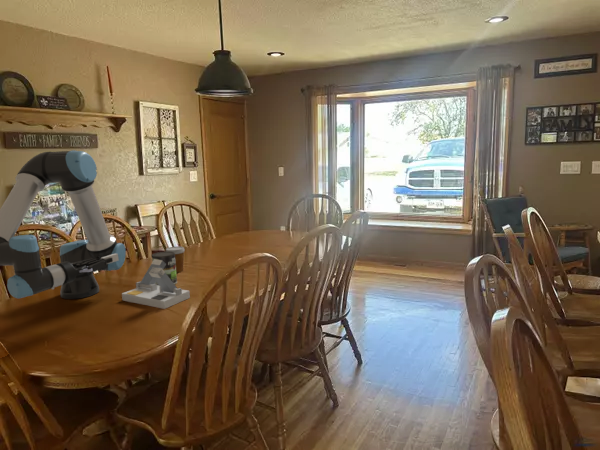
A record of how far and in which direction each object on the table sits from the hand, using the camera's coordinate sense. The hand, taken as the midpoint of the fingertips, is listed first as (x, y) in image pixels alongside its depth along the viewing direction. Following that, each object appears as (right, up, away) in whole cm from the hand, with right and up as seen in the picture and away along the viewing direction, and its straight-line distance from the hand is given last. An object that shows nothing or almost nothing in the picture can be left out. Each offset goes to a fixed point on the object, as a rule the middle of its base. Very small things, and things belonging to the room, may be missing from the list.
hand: (116, 256), depth 169 cm
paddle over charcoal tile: (+19, -14, +7) cm, 24 cm away
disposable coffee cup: (+9, -11, +52) cm, 54 cm away
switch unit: (+12, -18, +10) cm, 24 cm away
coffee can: (+9, -15, +32) cm, 36 cm away
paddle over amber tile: (+7, -13, +14) cm, 20 cm away
